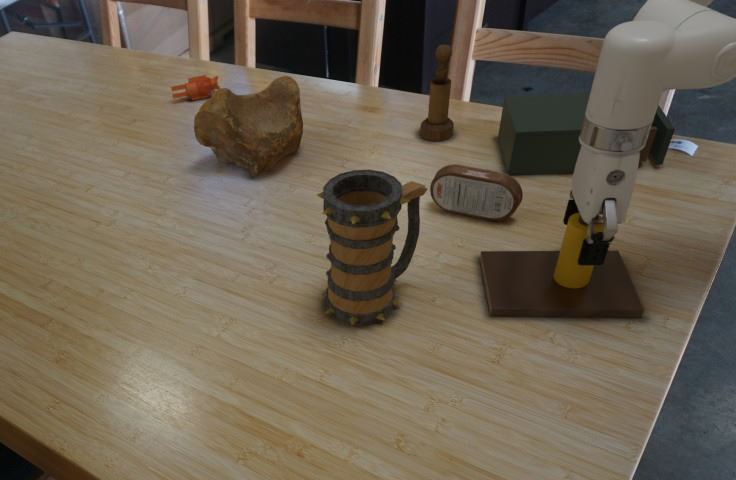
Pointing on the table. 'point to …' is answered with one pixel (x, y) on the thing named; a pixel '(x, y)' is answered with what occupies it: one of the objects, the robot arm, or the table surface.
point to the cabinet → (541, 133)
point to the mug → (366, 242)
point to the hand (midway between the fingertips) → (582, 243)
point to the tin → (476, 192)
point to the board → (556, 287)
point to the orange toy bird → (197, 87)
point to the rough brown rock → (252, 125)
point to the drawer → (658, 139)
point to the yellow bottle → (574, 254)
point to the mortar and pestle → (439, 101)
